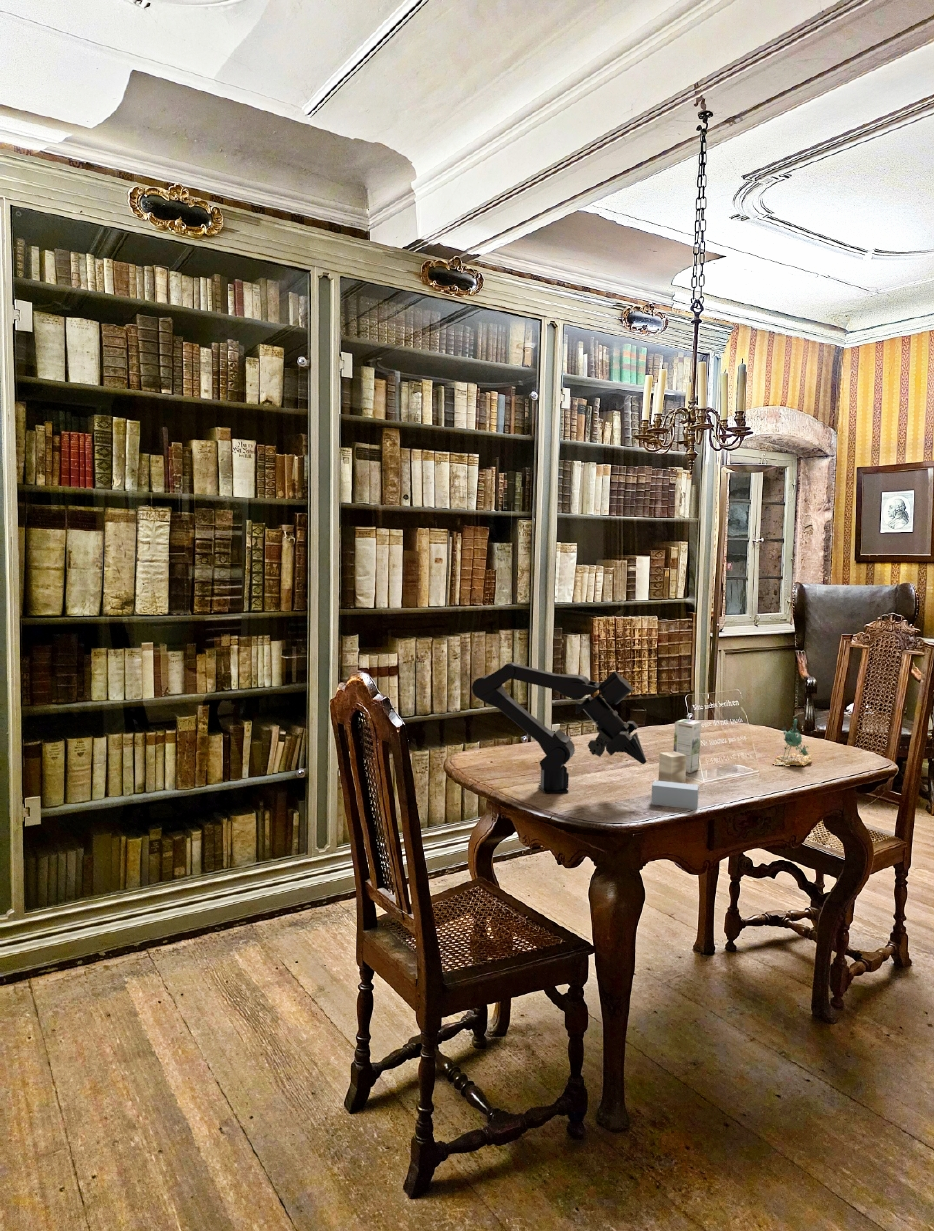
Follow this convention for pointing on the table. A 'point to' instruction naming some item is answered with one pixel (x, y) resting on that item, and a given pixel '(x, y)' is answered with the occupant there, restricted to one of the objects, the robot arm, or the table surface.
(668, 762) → the birch post
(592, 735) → the table surface
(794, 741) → the frog figurine
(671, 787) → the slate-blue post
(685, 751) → the syrup box
